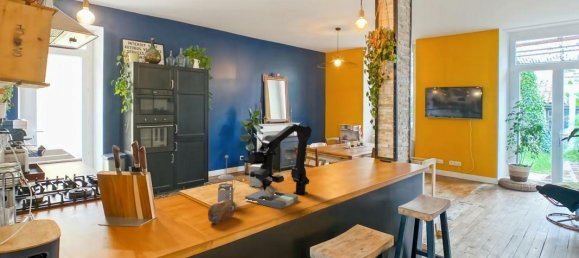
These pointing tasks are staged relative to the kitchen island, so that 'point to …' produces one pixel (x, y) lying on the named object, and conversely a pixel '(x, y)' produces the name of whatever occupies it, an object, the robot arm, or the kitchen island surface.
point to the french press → (225, 186)
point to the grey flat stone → (221, 211)
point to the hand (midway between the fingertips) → (265, 192)
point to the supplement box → (253, 180)
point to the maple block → (270, 190)
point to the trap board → (273, 199)
